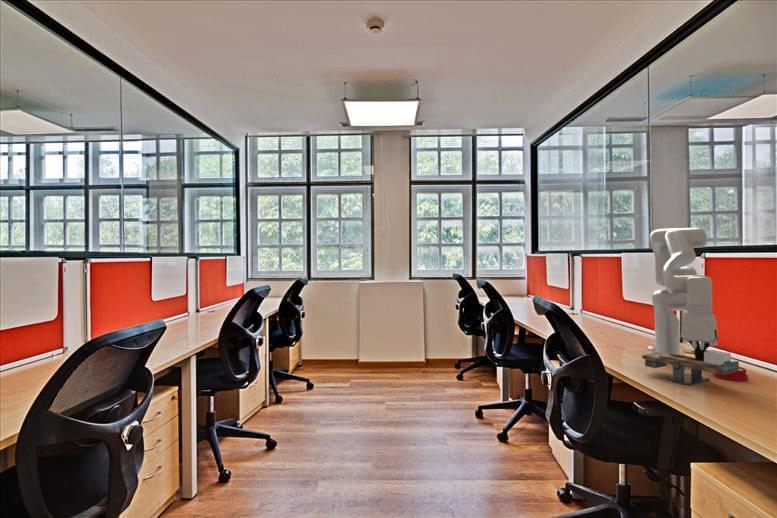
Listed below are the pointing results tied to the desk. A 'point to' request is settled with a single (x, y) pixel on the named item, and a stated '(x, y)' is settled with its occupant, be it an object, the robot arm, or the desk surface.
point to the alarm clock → (734, 375)
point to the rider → (716, 357)
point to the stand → (686, 376)
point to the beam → (688, 363)
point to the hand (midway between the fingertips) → (700, 359)
